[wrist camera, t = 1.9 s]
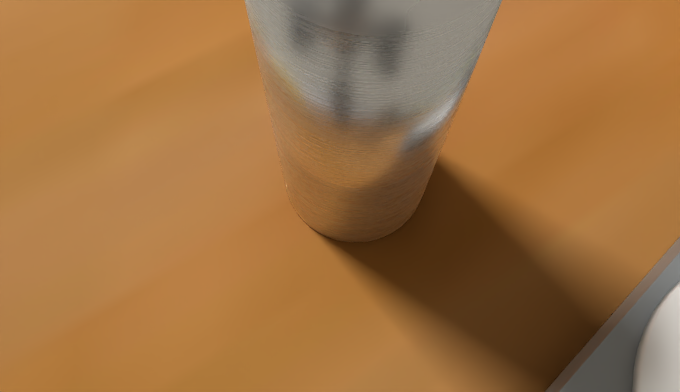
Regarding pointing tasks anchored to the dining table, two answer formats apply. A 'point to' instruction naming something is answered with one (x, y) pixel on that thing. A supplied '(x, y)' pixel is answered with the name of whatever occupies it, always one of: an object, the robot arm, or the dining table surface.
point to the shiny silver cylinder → (364, 101)
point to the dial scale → (634, 340)
